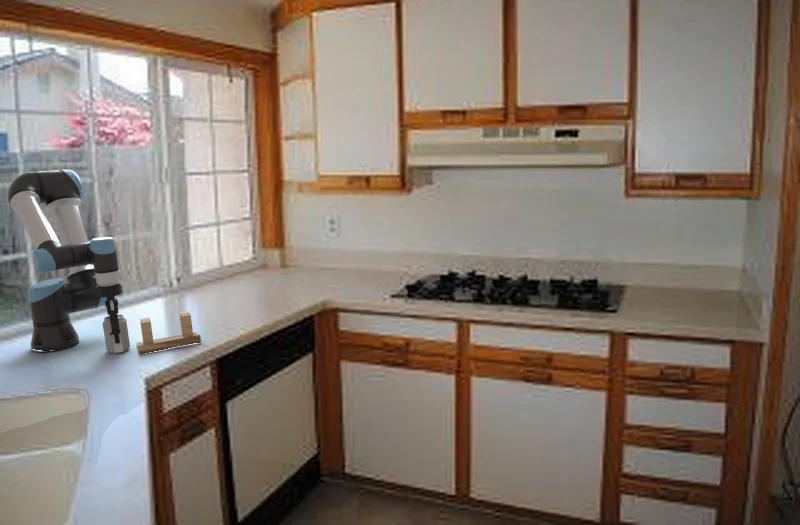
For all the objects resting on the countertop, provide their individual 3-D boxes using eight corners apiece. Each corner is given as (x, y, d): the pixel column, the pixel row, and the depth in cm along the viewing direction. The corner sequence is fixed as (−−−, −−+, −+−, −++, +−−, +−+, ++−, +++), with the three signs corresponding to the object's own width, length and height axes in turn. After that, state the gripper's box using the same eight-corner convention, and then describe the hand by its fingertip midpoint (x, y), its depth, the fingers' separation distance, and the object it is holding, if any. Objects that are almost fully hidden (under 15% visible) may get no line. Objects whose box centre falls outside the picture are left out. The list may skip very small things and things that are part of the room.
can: (122, 345, 226) (117, 312, 223) (135, 348, 221) (130, 315, 219) (102, 352, 220) (97, 318, 217) (114, 355, 215) (109, 320, 213)
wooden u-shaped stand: (137, 345, 225) (133, 317, 223) (196, 334, 233) (192, 308, 231) (139, 355, 214) (135, 326, 212) (201, 343, 222) (198, 315, 220)
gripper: (96, 279, 223) (105, 342, 228) (96, 291, 205) (107, 359, 210) (119, 276, 226) (128, 338, 231) (122, 287, 208) (132, 354, 213)
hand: (118, 348), depth 220 cm, fingers closed on can, 7 cm apart
